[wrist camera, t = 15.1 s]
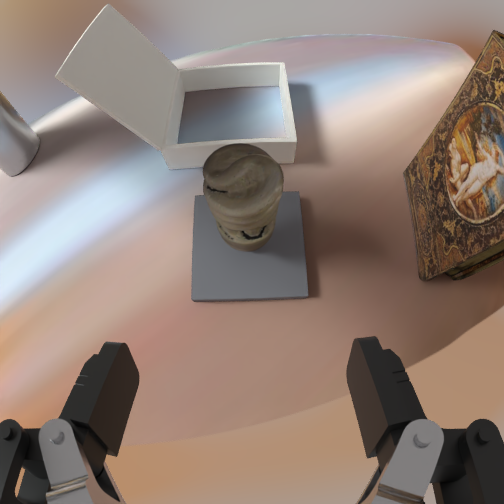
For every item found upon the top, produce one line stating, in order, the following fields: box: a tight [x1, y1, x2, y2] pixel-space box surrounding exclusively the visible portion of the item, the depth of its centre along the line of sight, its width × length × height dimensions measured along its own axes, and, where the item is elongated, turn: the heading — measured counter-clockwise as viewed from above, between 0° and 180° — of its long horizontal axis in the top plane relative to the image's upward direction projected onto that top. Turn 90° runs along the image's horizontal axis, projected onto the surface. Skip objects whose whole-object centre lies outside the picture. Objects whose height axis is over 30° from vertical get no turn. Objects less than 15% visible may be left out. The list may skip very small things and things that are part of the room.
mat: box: [191, 192, 308, 302], centre depth 33 cm, size 12×12×2 cm
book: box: [403, 30, 504, 281], centre depth 22 cm, size 16×6×25 cm, turn 177°
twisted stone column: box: [203, 143, 284, 252], centre depth 25 cm, size 6×6×15 cm
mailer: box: [55, 4, 297, 170], centre depth 30 cm, size 23×16×19 cm
